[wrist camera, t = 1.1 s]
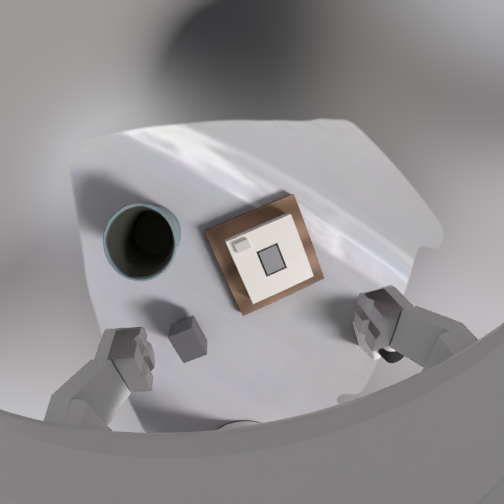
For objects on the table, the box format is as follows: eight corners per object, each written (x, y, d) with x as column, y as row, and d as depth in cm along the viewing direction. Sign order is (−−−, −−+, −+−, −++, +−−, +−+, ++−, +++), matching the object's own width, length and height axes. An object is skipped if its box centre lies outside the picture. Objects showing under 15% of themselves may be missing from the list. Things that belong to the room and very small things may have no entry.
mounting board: (320, 276, 50) (324, 278, 48) (241, 312, 48) (242, 315, 47) (291, 194, 46) (293, 194, 45) (204, 231, 45) (204, 231, 44)
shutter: (283, 265, 44) (284, 266, 43) (266, 273, 44) (267, 274, 43) (275, 244, 43) (276, 245, 43) (257, 252, 43) (258, 252, 42)
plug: (210, 343, 49) (211, 361, 42) (190, 351, 48) (188, 370, 42) (193, 312, 47) (191, 327, 41) (172, 321, 47) (167, 337, 40)
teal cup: (190, 209, 44) (183, 210, 32) (179, 267, 45) (170, 288, 34) (133, 198, 42) (108, 197, 30) (124, 256, 44) (99, 273, 32)
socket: (307, 271, 47) (315, 277, 44) (250, 298, 47) (253, 305, 43) (285, 213, 45) (292, 214, 41) (224, 239, 44) (225, 242, 41)
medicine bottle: (383, 330, 55) (415, 354, 43) (358, 346, 54) (386, 373, 42) (378, 305, 53) (412, 326, 41) (351, 321, 53) (382, 347, 41)
